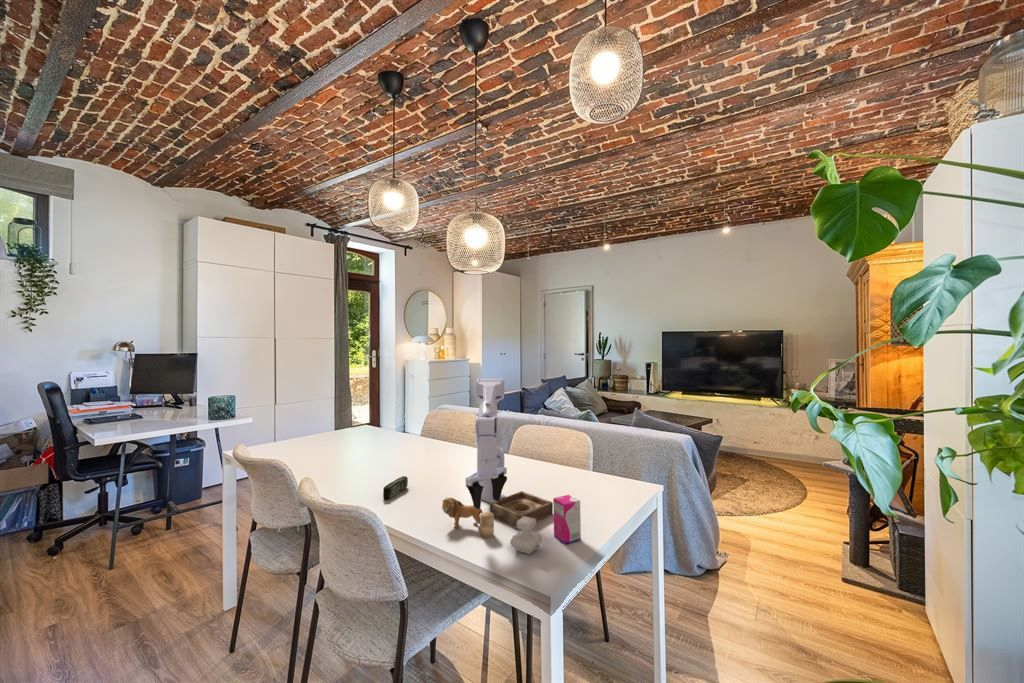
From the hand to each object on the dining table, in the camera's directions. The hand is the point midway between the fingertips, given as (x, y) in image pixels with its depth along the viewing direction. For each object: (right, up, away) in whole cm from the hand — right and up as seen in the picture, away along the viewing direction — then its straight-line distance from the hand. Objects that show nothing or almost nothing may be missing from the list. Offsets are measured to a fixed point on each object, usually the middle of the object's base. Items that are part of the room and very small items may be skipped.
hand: (486, 503), depth 121 cm
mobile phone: (-36, -9, +33) cm, 49 cm away
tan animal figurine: (-7, -9, +5) cm, 13 cm away
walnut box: (+11, -9, +14) cm, 19 cm away
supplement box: (+23, -10, -2) cm, 25 cm away
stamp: (+11, -10, -8) cm, 17 cm away
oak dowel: (0, -9, 0) cm, 9 cm away
